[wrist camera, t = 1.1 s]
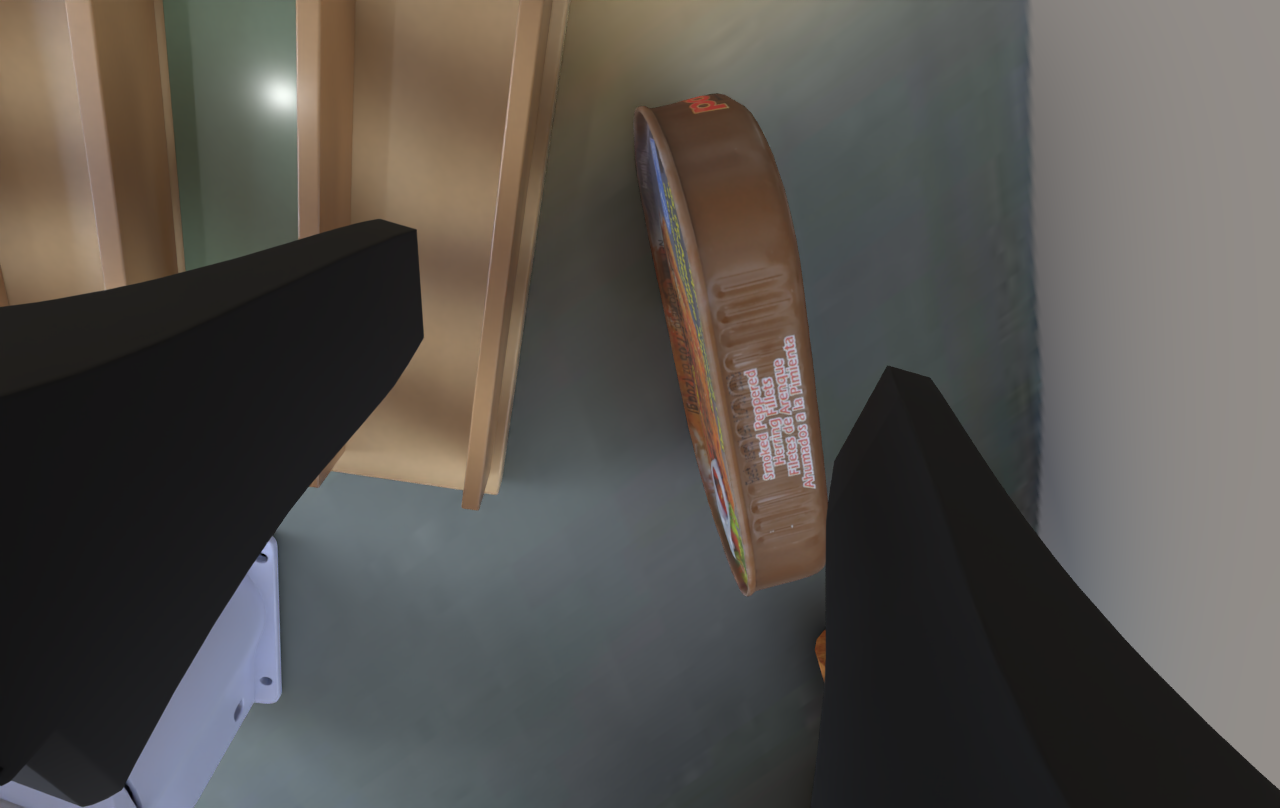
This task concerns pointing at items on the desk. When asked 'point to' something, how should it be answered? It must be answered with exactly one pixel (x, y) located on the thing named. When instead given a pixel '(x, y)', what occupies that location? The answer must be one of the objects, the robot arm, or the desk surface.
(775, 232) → the tin
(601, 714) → the desk surface
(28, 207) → the rack
